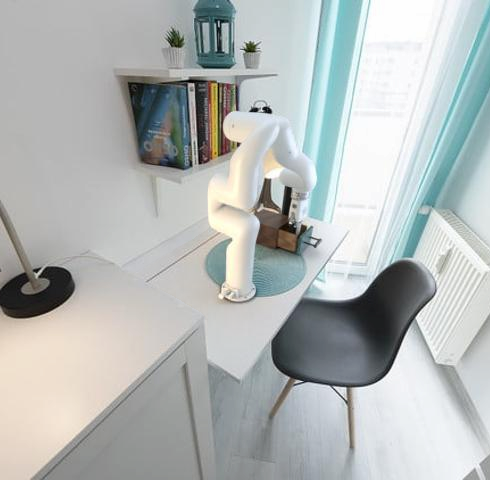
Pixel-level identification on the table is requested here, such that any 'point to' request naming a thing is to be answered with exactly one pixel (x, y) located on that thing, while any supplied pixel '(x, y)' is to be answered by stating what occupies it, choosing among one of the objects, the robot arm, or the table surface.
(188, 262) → the table surface
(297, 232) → the paper towel roll
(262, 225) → the cabinet
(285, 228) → the drawer
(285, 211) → the black square column
